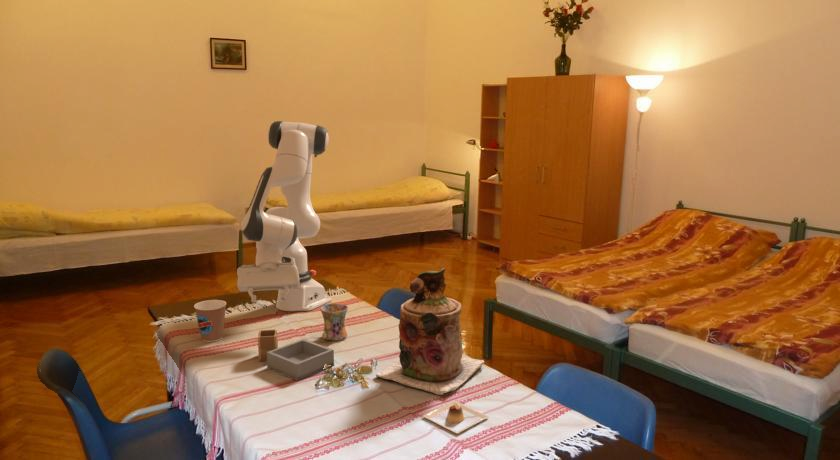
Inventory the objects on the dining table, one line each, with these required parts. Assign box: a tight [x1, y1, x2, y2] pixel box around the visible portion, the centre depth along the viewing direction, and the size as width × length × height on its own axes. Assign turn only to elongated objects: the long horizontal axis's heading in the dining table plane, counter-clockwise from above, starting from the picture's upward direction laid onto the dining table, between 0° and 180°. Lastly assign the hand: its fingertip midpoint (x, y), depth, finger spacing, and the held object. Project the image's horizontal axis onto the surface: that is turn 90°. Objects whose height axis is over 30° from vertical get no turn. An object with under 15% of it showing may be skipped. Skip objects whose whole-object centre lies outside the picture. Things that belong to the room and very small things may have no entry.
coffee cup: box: [193, 299, 227, 343], centre depth 204 cm, size 10×10×12 cm
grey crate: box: [266, 338, 335, 382], centre depth 182 cm, size 14×14×5 cm
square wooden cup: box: [257, 329, 279, 363], centre depth 188 cm, size 6×6×8 cm
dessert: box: [422, 400, 490, 435], centre depth 152 cm, size 12×12×5 cm
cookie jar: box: [375, 267, 485, 396], centre depth 176 cm, size 25×25×32 cm
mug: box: [319, 303, 349, 342], centre depth 206 cm, size 12×9×11 cm
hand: (268, 300), depth 198 cm, fingers open, 8 cm apart
